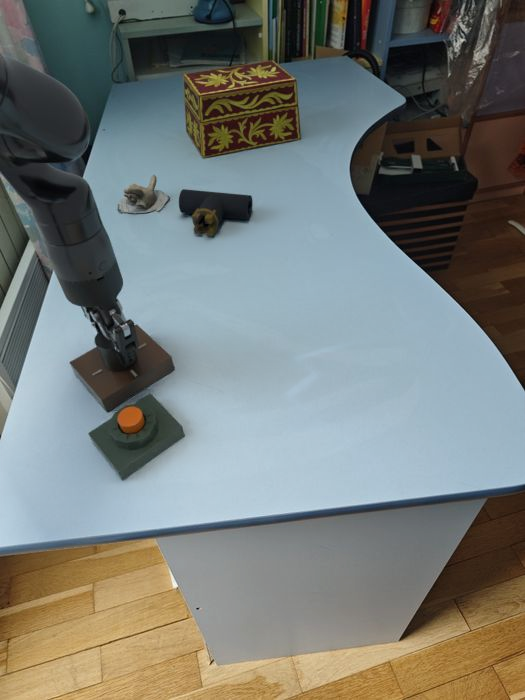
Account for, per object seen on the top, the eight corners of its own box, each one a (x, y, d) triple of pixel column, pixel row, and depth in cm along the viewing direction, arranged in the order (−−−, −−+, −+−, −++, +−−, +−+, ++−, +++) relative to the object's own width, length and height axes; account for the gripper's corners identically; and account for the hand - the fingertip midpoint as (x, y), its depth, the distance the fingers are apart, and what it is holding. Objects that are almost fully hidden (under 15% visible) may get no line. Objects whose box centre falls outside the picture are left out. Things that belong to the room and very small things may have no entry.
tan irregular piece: (174, 198, 113) (170, 173, 110) (150, 218, 105) (145, 191, 101) (136, 195, 116) (131, 170, 112) (110, 214, 107) (103, 188, 104)
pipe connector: (237, 218, 95) (165, 210, 98) (238, 241, 99) (170, 233, 102) (251, 190, 103) (185, 184, 106) (253, 212, 107) (188, 206, 109)
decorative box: (276, 115, 143) (276, 57, 132) (301, 139, 131) (302, 79, 120) (185, 131, 137) (177, 73, 126) (202, 158, 125) (194, 96, 114)
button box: (122, 480, 63) (114, 464, 60) (92, 442, 67) (83, 425, 64) (185, 435, 67) (180, 418, 64) (153, 402, 71) (147, 385, 68)
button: (128, 438, 63) (125, 430, 62) (116, 423, 65) (112, 415, 63) (149, 424, 64) (146, 416, 63) (136, 410, 66) (133, 402, 65)
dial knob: (143, 358, 73) (135, 334, 70) (115, 377, 71) (106, 353, 67) (124, 342, 76) (116, 318, 72) (97, 360, 73) (87, 336, 70)
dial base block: (107, 412, 70) (101, 399, 68) (75, 374, 76) (68, 361, 73) (175, 369, 76) (171, 356, 73) (140, 336, 81) (136, 323, 79)
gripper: (31, 248, 62) (74, 340, 75) (83, 302, 55) (121, 394, 67) (84, 225, 66) (117, 317, 78) (140, 272, 58) (167, 366, 70)
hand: (119, 352), depth 72 cm, fingers closed on dial knob, 5 cm apart
